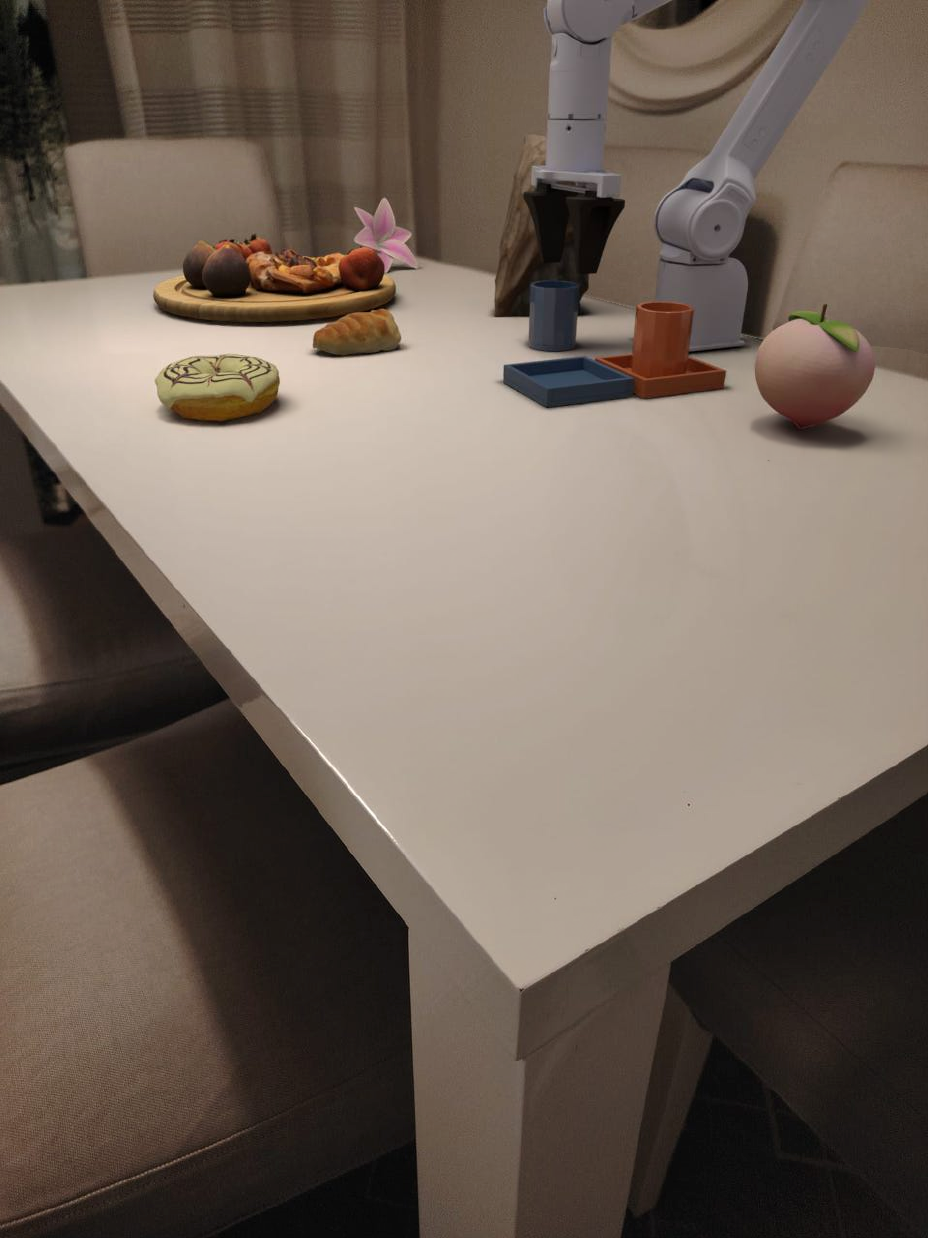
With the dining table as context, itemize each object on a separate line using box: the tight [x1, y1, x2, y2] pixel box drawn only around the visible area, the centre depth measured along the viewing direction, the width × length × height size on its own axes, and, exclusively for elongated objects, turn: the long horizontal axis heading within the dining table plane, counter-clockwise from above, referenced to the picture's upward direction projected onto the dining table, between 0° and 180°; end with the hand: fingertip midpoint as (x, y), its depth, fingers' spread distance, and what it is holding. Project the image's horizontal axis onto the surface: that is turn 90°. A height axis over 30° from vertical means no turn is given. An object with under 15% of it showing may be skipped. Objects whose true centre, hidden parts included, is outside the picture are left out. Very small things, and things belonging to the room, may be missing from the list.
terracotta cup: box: [631, 301, 694, 379], centre depth 86 cm, size 5×5×6 cm
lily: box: [353, 197, 419, 274], centre depth 145 cm, size 12×12×10 cm
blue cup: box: [527, 280, 579, 352], centre depth 99 cm, size 5×5×6 cm
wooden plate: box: [152, 233, 397, 323], centre depth 120 cm, size 32×32×8 cm
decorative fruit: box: [754, 303, 876, 429], centre depth 73 cm, size 9×8×10 cm
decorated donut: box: [154, 353, 281, 422], centre depth 79 cm, size 10×11×4 cm
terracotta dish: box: [594, 353, 727, 399], centre depth 88 cm, size 9×9×2 cm
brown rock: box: [493, 133, 590, 317], centre depth 114 cm, size 13×13×20 cm
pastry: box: [312, 308, 402, 356], centre depth 98 cm, size 9×7×4 cm
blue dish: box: [502, 355, 634, 408], centre depth 85 cm, size 9×9×2 cm
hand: (568, 267), depth 95 cm, fingers open, 7 cm apart
